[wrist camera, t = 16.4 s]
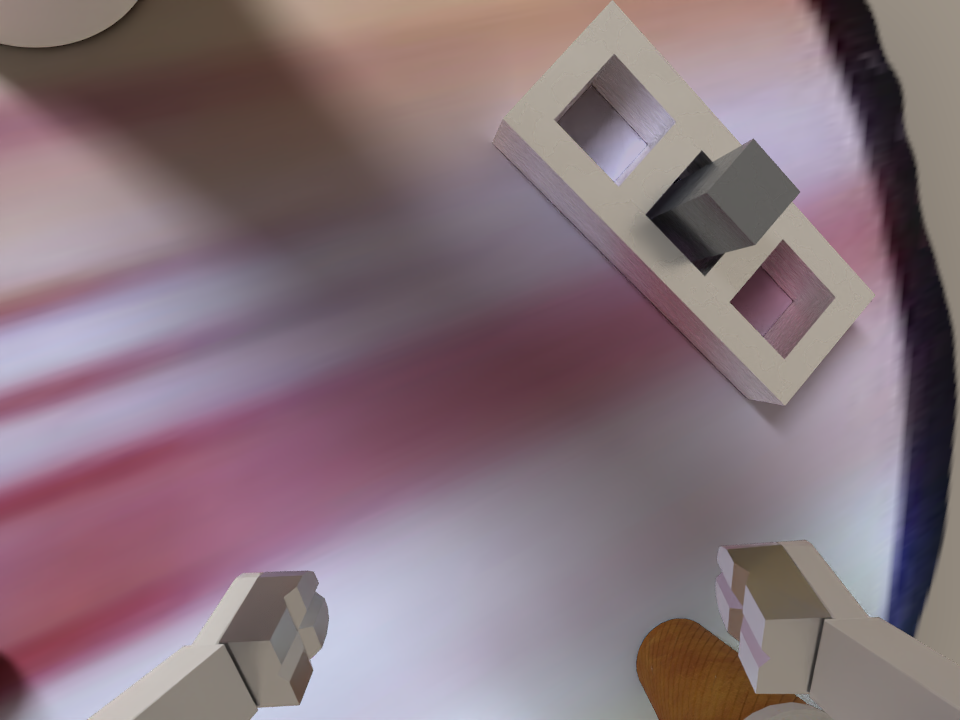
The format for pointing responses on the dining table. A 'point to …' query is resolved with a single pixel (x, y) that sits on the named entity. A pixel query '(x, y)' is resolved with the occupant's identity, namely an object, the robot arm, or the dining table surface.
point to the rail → (623, 204)
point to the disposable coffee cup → (706, 679)
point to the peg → (724, 203)
